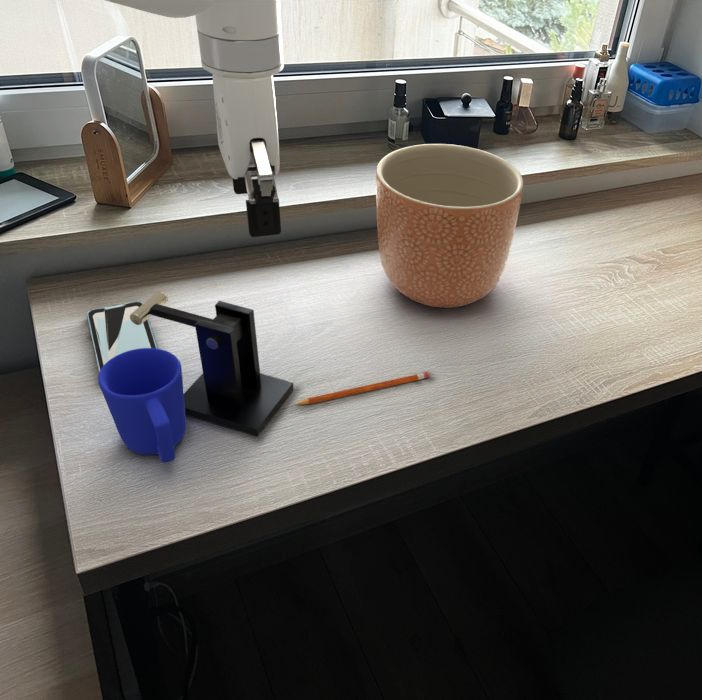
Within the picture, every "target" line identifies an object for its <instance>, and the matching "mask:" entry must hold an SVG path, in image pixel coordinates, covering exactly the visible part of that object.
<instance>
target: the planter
mask: <svg viewBox="0 0 702 700" xmlns="http://www.w3.org/2000/svg"><path fill="white" fill-rule="evenodd" d="M375 171H376V173H375V204H376V205H375V206H376V228H377V230H376V231H377V241H378V242H377V243H378V251H379V256H380V257H379V258H380V262H381V266H382V269H383V272H384V274H385V276H386V278H387V280H388V281H389V283H390V284H391V285H392V286H393V287H394V288H395V289H396V290H397V291H398V292H399V293H401V294H402V295H403V296H404V297H406V298H408V299H410V300H412V301H413V302H416V303H418V304H421V305H425V306H429V307H432V308H441V309H444V308H445V309H446V308H459V307H463V306H466V305H470V304H472V303H474V302H476V301H478V300H480V299H482V298H484V297H485V296H487V295H488V294H489V293H490V292H491V291H493V289H494V288H495V287H496V285H497V284H498V283H499V281H500V280H501V277H502V276H503V273H504V271H505V267H506V265H507V263H508V258H509V255H510V252H511V249H512V244H513V240H514V236H515V232H516V228H517V222H518V218H519V213H520V209H521V204H522V198H523V191H524V178H523V176H522V174H521V172H520V171H519V170H518V168H516V167H515V166H514V165H513V164H512V163H511V162H509V161H508V160H506V159H504V158H502V157H500V156H498V155H496V154H493V153H492V152H488V151H486V150H482V149H479V148H474V147H471V146H470V147H469V146H466V145H465V146H464V145H457V144H449V143H448V144H447V143H423V144H416V145H409V146H406V147H401V148H399V149H396V150H393V151H391V152H390V153H387V154H386V155H385V156H383V158H381V160H379V162H378V164H377V166H376V170H375Z"/></svg>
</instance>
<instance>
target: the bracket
mask: <svg viewBox="0 0 702 700" xmlns="http://www.w3.org/2000/svg"><path fill="white" fill-rule="evenodd" d="M214 309H215V315H216V316H217V315H218V314H219V313H222V314H225V315H229V316H233V317H236V318H240V319H241V321H242V329H243V336H242V337H241V338H240V339H239V340H238V341H237V342H236V334H235V329H233V328H229V327H226V326H222V325H218V324H215V323H211V322H207V321H204V320H199V321H197V322H196V323H195V327H194V329H195V333H196V340H197V345H198V351H199V358H200V363H201V370H202V374H201V375H200V376H199V377H198V378H197V379H196V380H195V381H194V382H193V383H192V384H191V385H190V386H189V388H187V389H186V390H185V391H184V404H185V416H188V417H191V418H195V419H198V420H202V421H204V422H207V423H211V424H214V425H217V426H221V427H224V428H227V429H231V430H234V431H238V432H241V433H244V434H248V435H251V436H254V437H259V436H260V435H261V433H262V432H263V430H264V429H265V428H266V427H267V425H268V424H269V422H271V420H272V419H273V417H274V416H275V415H276V413H277V412H278V411H279V410H280V408H281V407H282V406H283V404H285V401H287V399H288V398H289V396H290V395H291V394H292V393H293V391H294V390H295V389H294V382H292V381H289V380H285V379H281V378H278V377H274V376H271V375H268V374H264V373H261V368H260V359H259V351H258V350H259V349H258V340H257V330H256V322H255V312H254V309H252V308H249V307H244V306H241V305H237V304H233V303H230V302H226V301H222V300H218V301H217V302H216V303H215V305H214ZM216 316H215V317H216Z"/></svg>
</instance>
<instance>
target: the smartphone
mask: <svg viewBox="0 0 702 700" xmlns="http://www.w3.org/2000/svg"><path fill="white" fill-rule="evenodd" d="M144 303H145V302H143V301H139V300H135V301H130V302H125V303H119V304H118V303H117V304H114V305H113V304H112V305H108V306H102V307H97V308H92V309H90V310H88V311H87V312H86V319H87V324H88V329H89V335H90V339H91V342H92V346H93V352H94V356H95V361H96V366H97V371H98V373H99V372H100V370H101V368H102V367H103V366H104V365H105V364H106V363H107V362H108V361H109V360H110V359H112V358H113V357H115V356H117V355H119V354H121V353H124V352H126V351H130V350H134V349H140V348H156V349H159V348H158V343H157V341H156V338H155V335H154V332H153V328H152V325H151V321H150V320H151V319H150V317H149V318H148V319H147V320H146V321H144V322H143V323H142V324H141V325H136V324H134V323H133V322H132V321H131V320H130V314H132V313H133V312H134V311H135V310H136V309H138V308H139V307H140V306H141V305H142V304H144Z"/></svg>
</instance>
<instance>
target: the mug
mask: <svg viewBox="0 0 702 700" xmlns="http://www.w3.org/2000/svg"><path fill="white" fill-rule="evenodd" d="M97 383H98V386H99V388H100V390H101V393H102V395H103V398H104V401H105V403H106V406H107V408H108V410H109V412H110V415H111V418H112V420H113V423H114V426H115V427H116V430H117V432H118V435H119V437H120V439H121V441H122V443H123V444H124V446H125V447H127V449H129V450H130V451H131V452H133V453H136V454H139V455H143V456H144V455H146V456H151V455H159V456H158V457H159V459H160V461H161V463H163V464H168V463H171V462H173V461H175V459H176V451H175V447H176V446H177V445H179V443H180V442H181V441H182V440H183V438H184V436H185V433H186V429H187V417H186V416H187V415H185V404H184V393H185V391H184V380H183V370H182V364H181V361H180V360H179V358H178V357H177V356H176V355H175V354H173V353H172V352H171V351H168V350H165V349H161V348H158V349H156V348H140V349H134V350H130V351H126V352H124V353H121V354H119V355H117V356H115V357H113V358H112V359H110V360H109V361H108V362H107V363H106V364H105V365H104V366H103V367H102V368H101V370H100V372H99V371H98V376H97Z"/></svg>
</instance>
